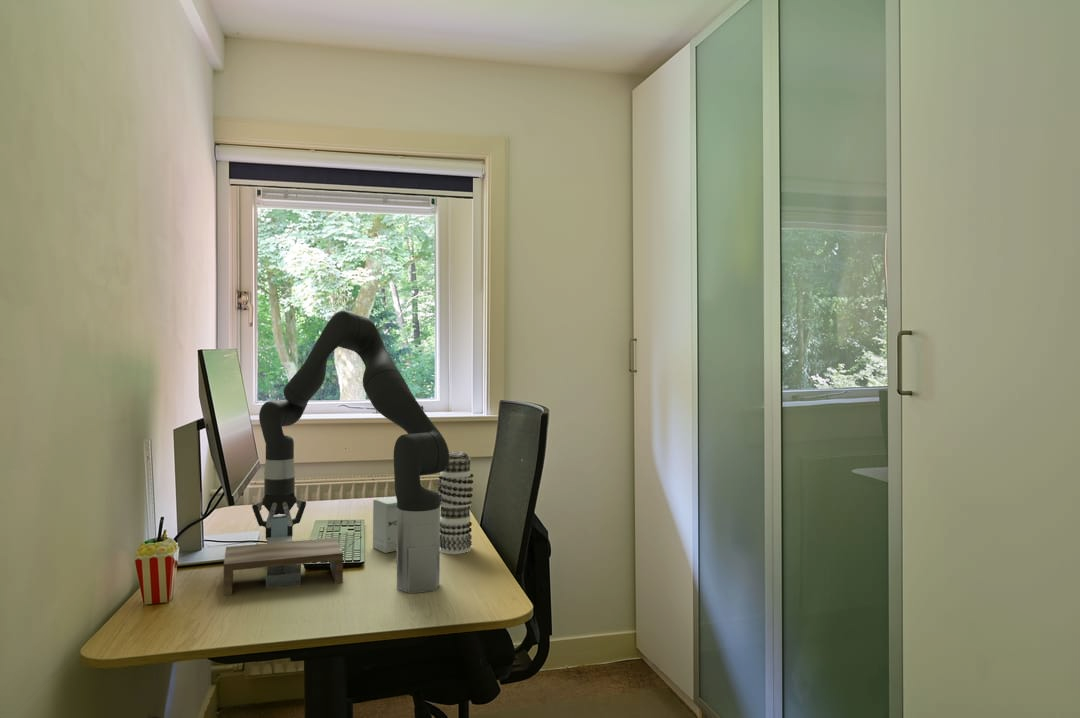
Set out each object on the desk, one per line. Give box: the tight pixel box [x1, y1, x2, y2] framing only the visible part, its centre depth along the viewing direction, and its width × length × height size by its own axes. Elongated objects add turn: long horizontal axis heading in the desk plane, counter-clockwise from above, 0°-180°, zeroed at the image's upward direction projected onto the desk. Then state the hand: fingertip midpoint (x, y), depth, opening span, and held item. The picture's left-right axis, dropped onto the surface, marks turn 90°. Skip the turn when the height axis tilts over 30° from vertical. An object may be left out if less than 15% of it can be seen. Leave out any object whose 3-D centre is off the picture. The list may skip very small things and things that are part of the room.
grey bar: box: [266, 514, 293, 544], centre depth 180 cm, size 24×6×7 cm, turn 22°
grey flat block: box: [265, 564, 302, 589], centre depth 158 cm, size 7×7×3 cm
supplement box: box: [372, 496, 397, 554], centre depth 185 cm, size 7×7×13 cm
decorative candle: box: [437, 451, 474, 555], centre depth 184 cm, size 9×9×25 cm
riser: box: [223, 537, 344, 596], centre depth 160 cm, size 14×24×6 cm, turn 112°
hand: (279, 540), depth 189 cm, fingers closed on grey bar, 4 cm apart
